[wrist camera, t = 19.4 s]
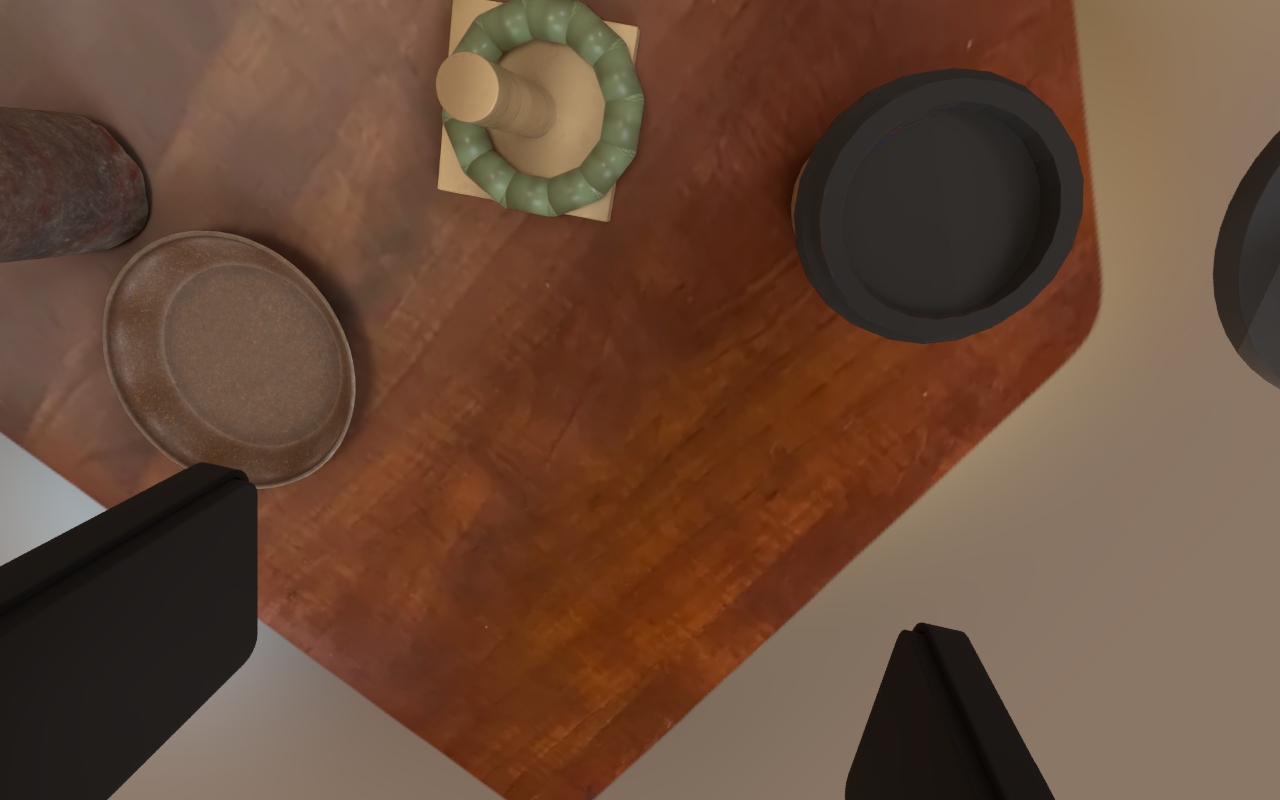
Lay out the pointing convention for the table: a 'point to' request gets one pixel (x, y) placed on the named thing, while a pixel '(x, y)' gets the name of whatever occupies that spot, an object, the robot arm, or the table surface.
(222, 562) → the robot arm
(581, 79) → the post
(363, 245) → the table surface
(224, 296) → the saucer
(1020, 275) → the coffee cup
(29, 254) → the brown rough vase
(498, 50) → the ring
